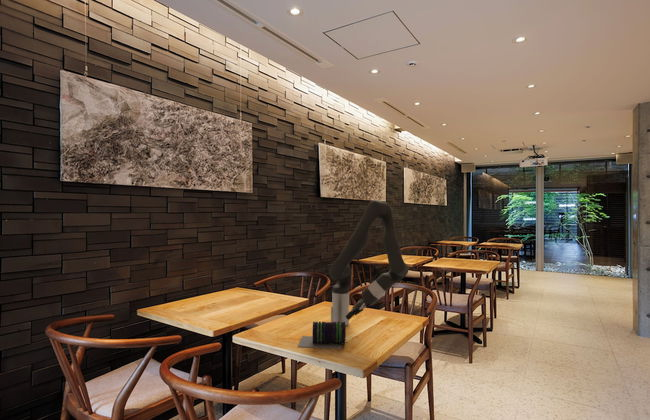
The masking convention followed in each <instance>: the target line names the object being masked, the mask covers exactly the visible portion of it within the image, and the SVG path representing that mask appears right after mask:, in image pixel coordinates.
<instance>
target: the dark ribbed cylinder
mask: <svg viewBox="0 0 650 420" xmlns="http://www.w3.org/2000/svg"><path fill="white" fill-rule="evenodd" d="M346 334H347V333H346V325H345V322H341V323H340V322H337V323H336V322H331V321H312V336H313V343H318V344H321V343H334V344H336V342H337V344H340V343H341V344H342V345H345V344H346V341H347V339H346V338H347V337H346V336H347V335H346Z"/></svg>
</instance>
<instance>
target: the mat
mask: <svg viewBox="0 0 650 420" xmlns="http://www.w3.org/2000/svg"><path fill="white" fill-rule="evenodd" d="M297 348H309V349H310V348H311V349H331V350H332V349H335V350H337V349H338V350H342V349H343V343H342V344H341V343H340V344H337V342H336V344H334V343H321V344H318V343H313V335H311V336H310V335H308V336H307V335H302V336H301V338H300V339H299V342H298V345H297Z"/></svg>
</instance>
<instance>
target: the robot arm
mask: <svg viewBox="0 0 650 420" xmlns="http://www.w3.org/2000/svg"><path fill="white" fill-rule="evenodd" d="M375 220H378V221H379V220H380V221H381V223H382V225H383V235H382V236H383V237H382V243H383V246H384V251H385V254H386V256H387V260H388V261H387V262H388V266H389V269H390V270H388V272H384V273H381V274H380V275H379V276H378V277H377V278H376V279H375V280H374V281H372V282H371V283H370V284H369V285H368V286H367V287H366V288H365V289H364V290H363V291H362V292H361V296H362V298H360V299H358V301H356V303H354V305H353V306H352V307H351V309H350V289H351V285H352V267H351V265H350V263H351V262H353V260H355V259H356V258H357V257H358V256H359V255H360V254H361V253H363V251H364V250H365V248H366V247H367V245H368V244H369V241H370V229H371V226H372V225H373V223H374V221H375ZM394 223H395V221H394V217H393V211H392V207H391V205H390V204H389V203H388V202H386V201H381V200H375V199H373V200H372V201H370V202H369V203H368V205H367V206H366V208H365V211H364V213H363V215H362V216H361V219H360V220H359V222H358V224H357V226H356V228H355V230H354V231H353V233H352V234H351V235H350V237H349V239H348V241H347V242H346V244H345V246H344V247H343V249H342V250H341V251H340V252H341V253H339V256H338V257H337V258H336V259H335V260H334V262H333V263H332V265H330V267H329V271H328V272H329V277H330V279H331V280H332V281H333V280H334V281H336V283H335V284H334V285H333V286H332V287H331V288H332V290H331V291H332V292H331V294H332V298H331V299H332V301H331V304H332V305H331V306H330V322H336V323H337V322H340V323H341V322H345V326H348V325H349V324H350V319H352V318H353V317H354V316H357V315H359V314H360V313H361V312H363V311H364V310H365V309H366V308H367V305H370V306H374V305H375V304H376V303H377V302H378V301H379V300H380V299H381V298H383V296H384V295H385V294H386V292H388V290H390V288H392V287H393V286H394V285H396V284H397V283H398V282H400V281H402V279H404V278H405V277H406V276H408V274H409V269H410V268H409V265H408V264H407V263H405V260H404V258H403V256H402V248H401V245H400V243H399V240H398V237H397V234H396V229H395V224H394Z"/></svg>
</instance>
